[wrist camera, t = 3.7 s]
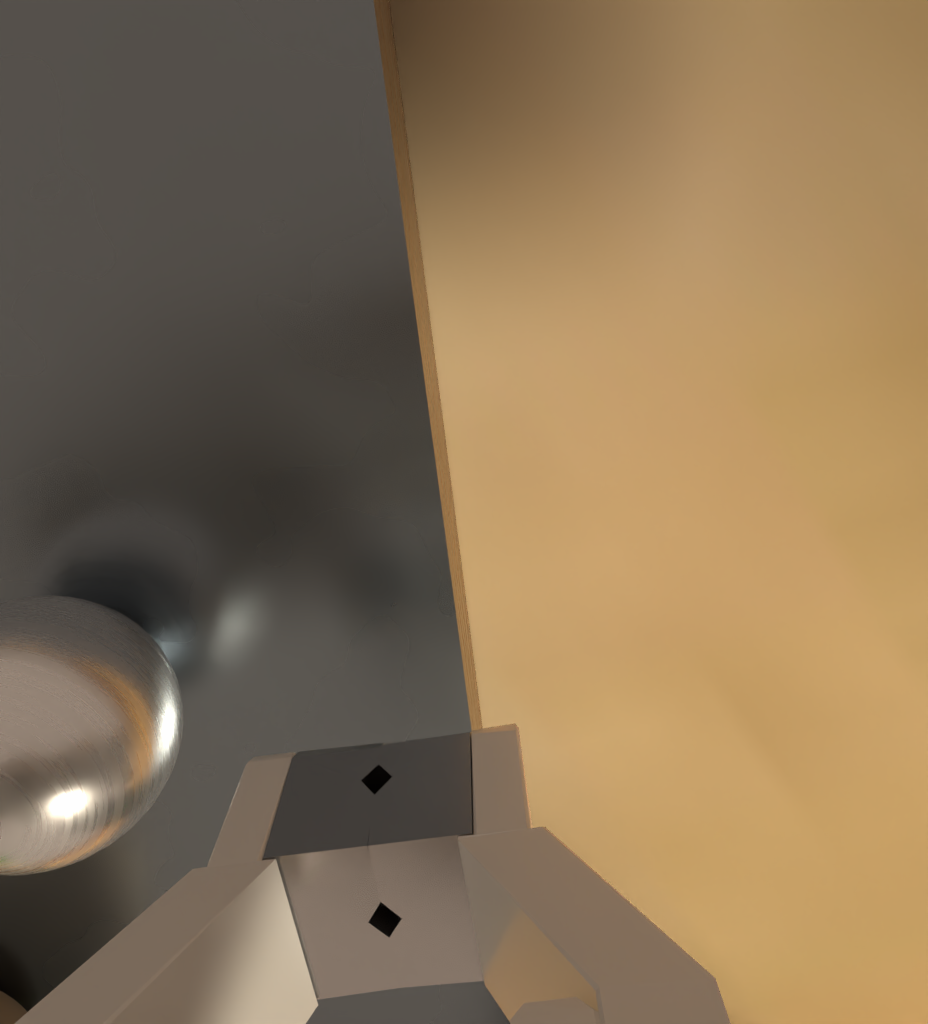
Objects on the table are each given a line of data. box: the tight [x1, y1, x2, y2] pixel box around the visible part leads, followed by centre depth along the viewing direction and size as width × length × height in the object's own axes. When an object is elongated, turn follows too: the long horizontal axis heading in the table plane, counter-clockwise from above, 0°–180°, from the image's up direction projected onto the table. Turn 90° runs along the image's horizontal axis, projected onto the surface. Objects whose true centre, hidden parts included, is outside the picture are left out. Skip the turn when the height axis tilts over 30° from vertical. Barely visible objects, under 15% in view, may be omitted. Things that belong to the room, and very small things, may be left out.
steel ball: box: [0, 596, 183, 876], centre depth 10 cm, size 3×3×3 cm
